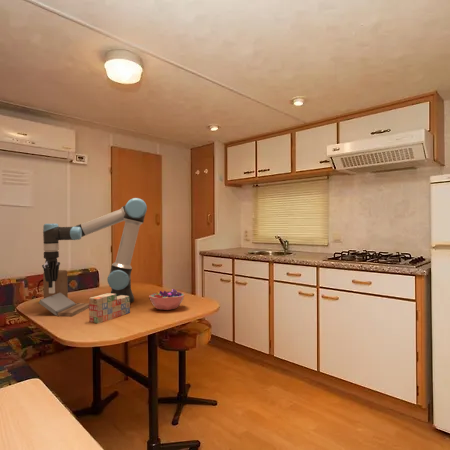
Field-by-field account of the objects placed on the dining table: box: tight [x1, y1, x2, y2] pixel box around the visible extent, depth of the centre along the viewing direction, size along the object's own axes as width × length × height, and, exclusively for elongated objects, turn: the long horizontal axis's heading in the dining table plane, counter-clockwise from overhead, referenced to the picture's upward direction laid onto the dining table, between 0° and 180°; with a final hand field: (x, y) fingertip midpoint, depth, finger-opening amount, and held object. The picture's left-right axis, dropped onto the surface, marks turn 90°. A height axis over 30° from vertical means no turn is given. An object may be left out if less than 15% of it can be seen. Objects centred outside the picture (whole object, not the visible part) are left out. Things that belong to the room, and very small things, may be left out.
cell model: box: [148, 288, 186, 311], centre depth 185 cm, size 17×20×11 cm
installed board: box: [57, 302, 89, 318], centre depth 182 cm, size 8×20×2 cm, turn 175°
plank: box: [38, 293, 77, 317], centre depth 183 cm, size 12×18×2 cm
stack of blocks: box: [88, 292, 131, 324], centre depth 170 cm, size 21×6×12 cm, turn 151°
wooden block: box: [42, 269, 69, 299], centre depth 203 cm, size 10×10×20 cm
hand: (51, 293), depth 184 cm, fingers closed
